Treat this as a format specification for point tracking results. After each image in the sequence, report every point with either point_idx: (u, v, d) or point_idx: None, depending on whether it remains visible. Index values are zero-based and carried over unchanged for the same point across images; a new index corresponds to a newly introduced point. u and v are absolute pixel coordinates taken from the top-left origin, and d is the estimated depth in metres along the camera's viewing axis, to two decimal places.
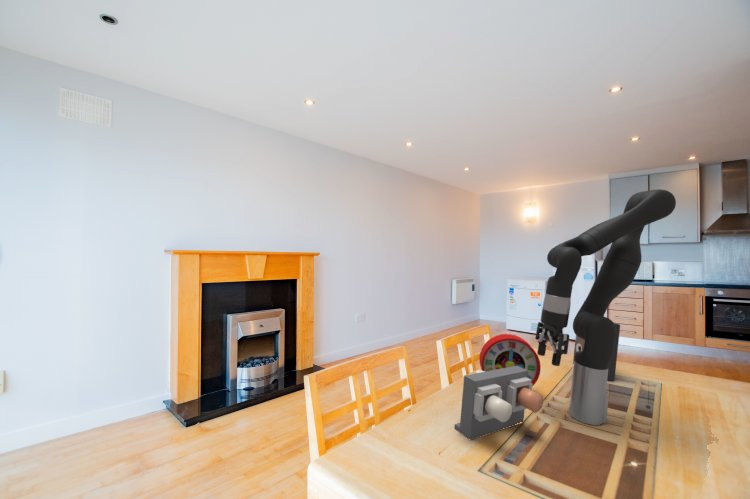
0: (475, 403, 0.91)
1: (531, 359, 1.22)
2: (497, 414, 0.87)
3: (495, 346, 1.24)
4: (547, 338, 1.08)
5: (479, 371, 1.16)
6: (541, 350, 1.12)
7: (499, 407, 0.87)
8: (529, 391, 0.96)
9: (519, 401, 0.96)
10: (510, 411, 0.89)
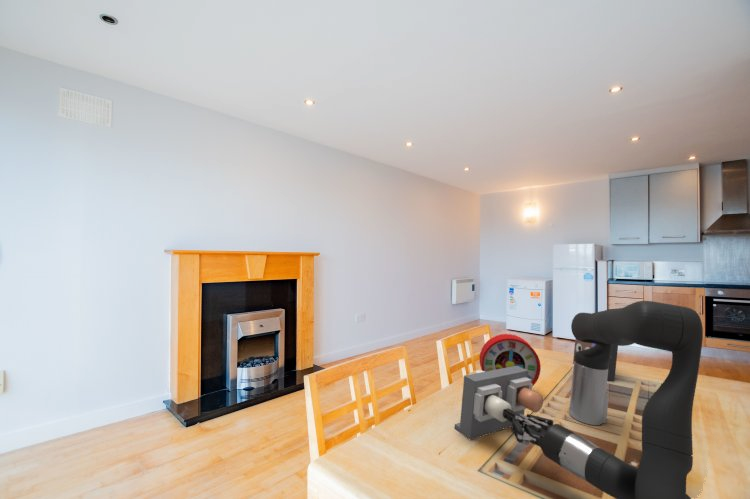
0: (475, 403, 0.91)
1: (531, 359, 1.22)
2: (496, 414, 0.87)
3: (495, 346, 1.24)
4: None
5: (479, 371, 1.16)
6: None
7: (498, 407, 0.87)
8: (529, 391, 0.96)
9: (519, 401, 0.96)
10: None
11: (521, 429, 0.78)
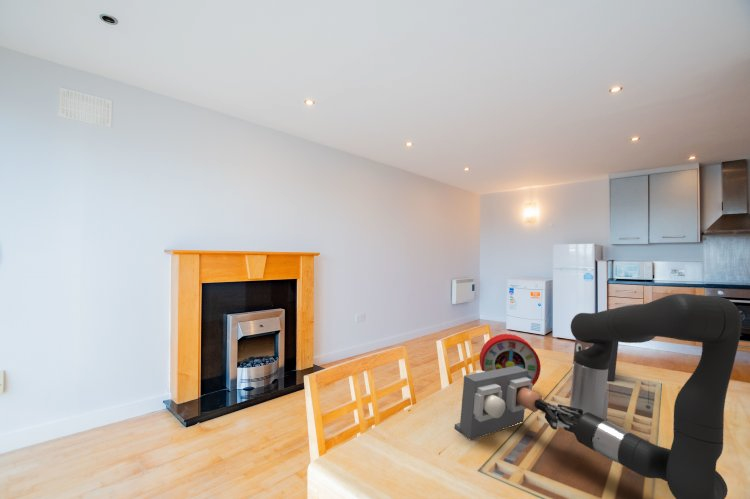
0: (475, 403, 0.91)
1: (531, 359, 1.22)
2: (491, 410, 0.89)
3: (495, 346, 1.24)
4: None
5: (479, 371, 1.16)
6: None
7: (492, 403, 0.89)
8: (528, 391, 0.96)
9: (518, 400, 0.97)
10: (503, 407, 0.91)
11: (555, 417, 0.85)
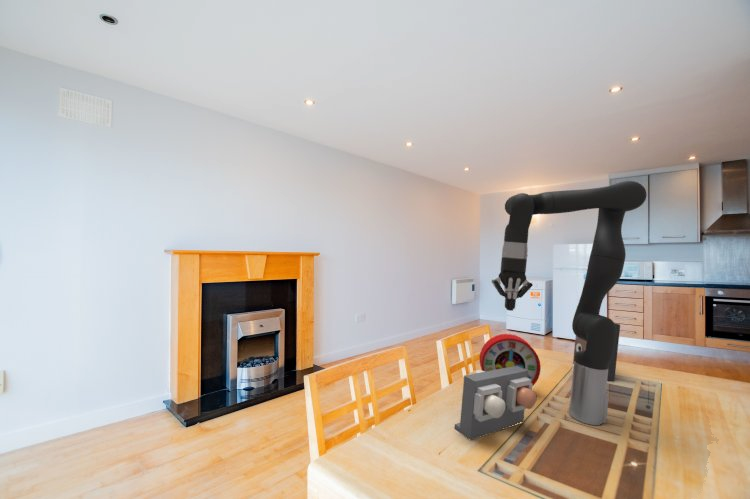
0: (475, 403, 0.91)
1: (531, 359, 1.22)
2: (491, 410, 0.89)
3: (495, 346, 1.24)
4: (512, 286, 1.09)
5: (479, 371, 1.16)
6: None
7: (492, 403, 0.89)
8: (522, 388, 0.98)
9: None
10: (503, 407, 0.91)
11: None
